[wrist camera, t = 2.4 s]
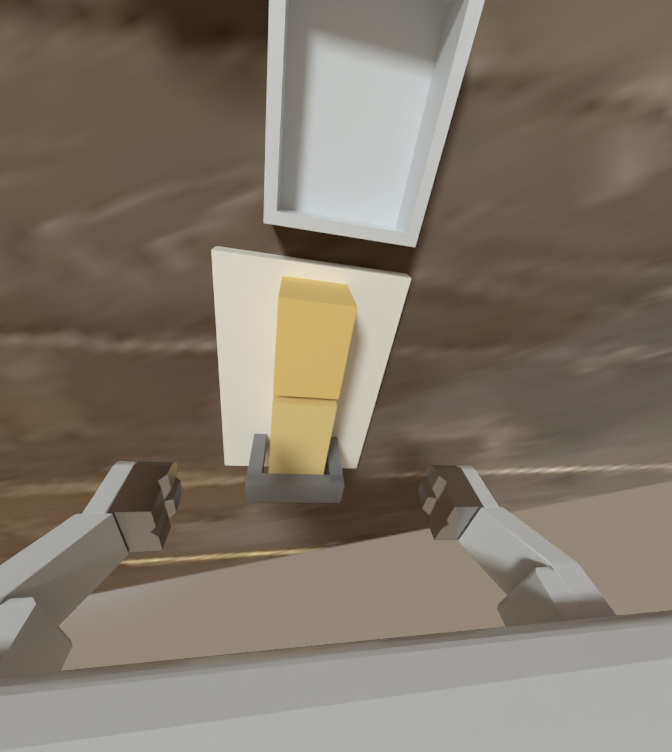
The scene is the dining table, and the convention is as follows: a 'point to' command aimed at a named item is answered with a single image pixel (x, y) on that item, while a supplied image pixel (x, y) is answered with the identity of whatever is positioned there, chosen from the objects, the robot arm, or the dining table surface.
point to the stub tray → (361, 111)
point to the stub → (312, 337)
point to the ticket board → (259, 343)
